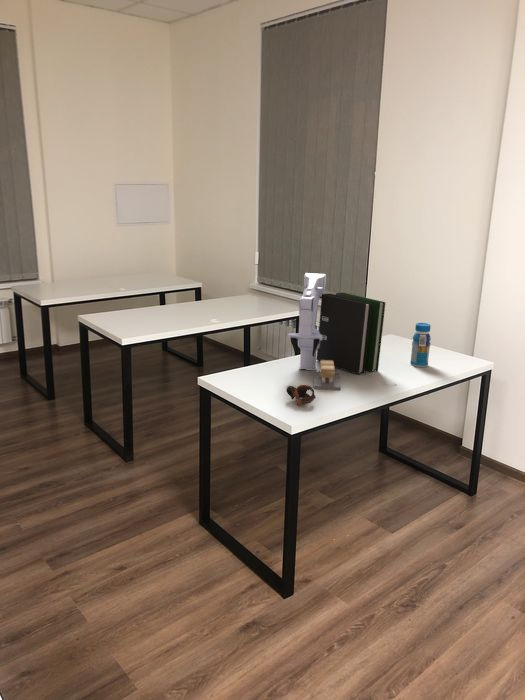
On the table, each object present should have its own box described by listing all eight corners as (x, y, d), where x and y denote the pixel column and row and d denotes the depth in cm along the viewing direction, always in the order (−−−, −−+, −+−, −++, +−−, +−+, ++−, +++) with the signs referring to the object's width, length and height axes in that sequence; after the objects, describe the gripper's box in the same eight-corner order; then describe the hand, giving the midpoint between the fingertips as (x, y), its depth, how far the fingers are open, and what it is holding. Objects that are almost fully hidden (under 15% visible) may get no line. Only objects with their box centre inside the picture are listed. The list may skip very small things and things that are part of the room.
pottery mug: (316, 401, 230) (320, 387, 224) (307, 417, 224) (310, 404, 218) (289, 389, 233) (291, 375, 227) (279, 405, 226) (281, 392, 221)
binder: (378, 371, 268) (386, 302, 260) (356, 375, 259) (363, 304, 251) (337, 356, 289) (343, 292, 281) (315, 360, 280) (320, 294, 272)
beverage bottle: (406, 364, 279) (410, 323, 274) (416, 361, 285) (420, 321, 279) (421, 368, 273) (425, 327, 268) (431, 365, 279) (436, 324, 273)
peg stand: (313, 373, 261) (313, 364, 260) (338, 375, 260) (338, 366, 259) (313, 388, 242) (314, 379, 241) (340, 390, 241) (341, 380, 240)
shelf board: (320, 367, 257) (320, 359, 256) (332, 367, 256) (333, 360, 255) (320, 377, 243) (321, 369, 242) (334, 377, 243) (334, 369, 242)
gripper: (288, 326, 247) (287, 357, 250) (323, 327, 246) (321, 358, 249) (289, 322, 253) (287, 352, 257) (322, 323, 253) (320, 354, 256)
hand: (304, 355), depth 254 cm, fingers open, 7 cm apart
